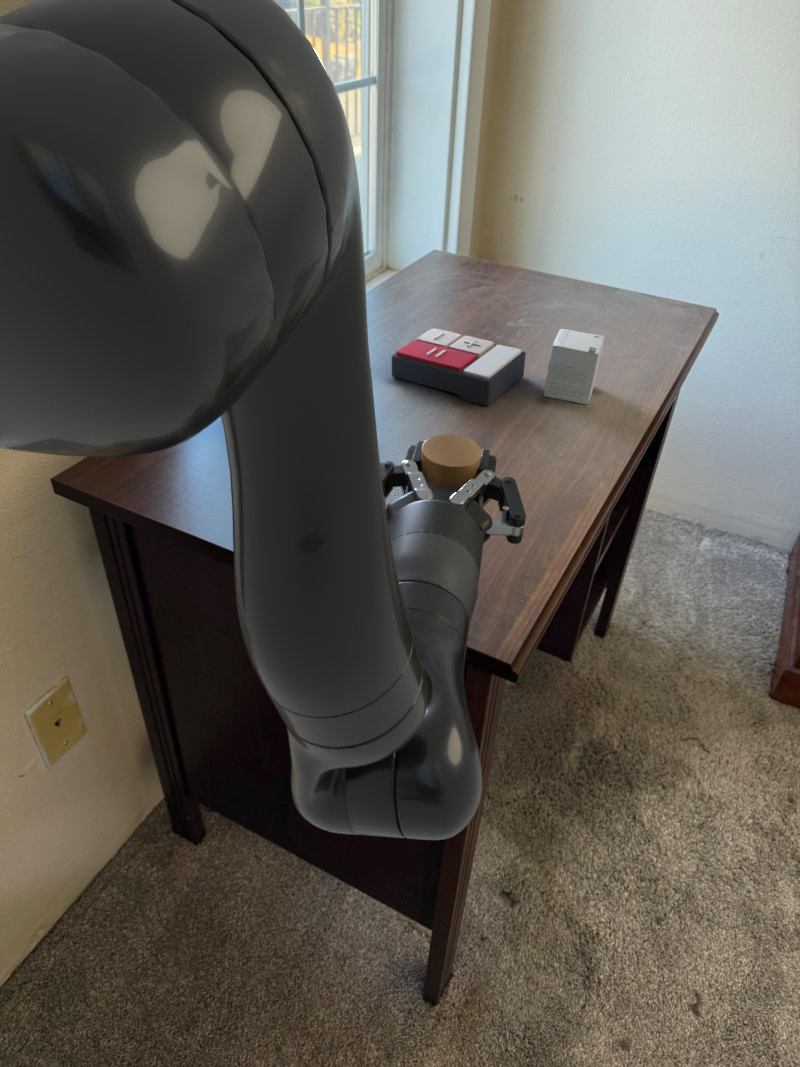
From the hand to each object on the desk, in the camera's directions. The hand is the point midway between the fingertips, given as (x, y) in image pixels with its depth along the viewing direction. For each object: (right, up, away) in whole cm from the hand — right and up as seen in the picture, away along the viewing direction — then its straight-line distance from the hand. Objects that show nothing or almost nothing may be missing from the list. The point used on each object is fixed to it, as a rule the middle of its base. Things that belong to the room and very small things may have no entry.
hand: (452, 454), depth 67 cm
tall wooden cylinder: (-1, -8, +3) cm, 8 cm away
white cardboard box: (+18, +12, +33) cm, 40 cm away
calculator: (+3, +14, +36) cm, 38 cm away
